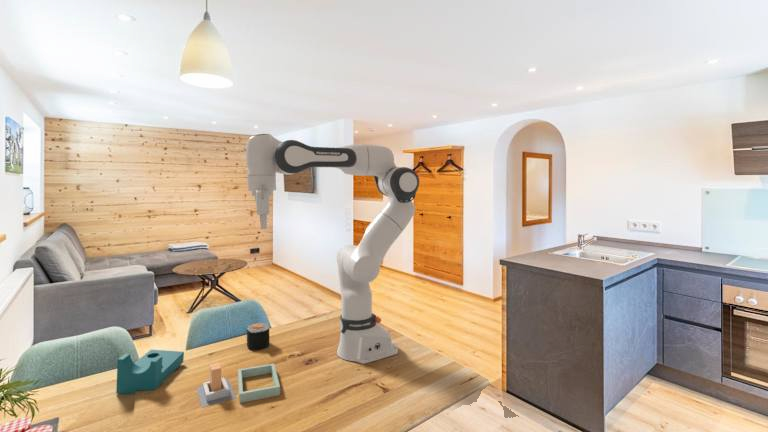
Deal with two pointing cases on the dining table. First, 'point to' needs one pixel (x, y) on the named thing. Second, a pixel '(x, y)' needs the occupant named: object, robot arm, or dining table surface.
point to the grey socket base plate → (215, 393)
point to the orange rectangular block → (215, 377)
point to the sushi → (257, 336)
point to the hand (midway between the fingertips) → (263, 227)
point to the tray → (260, 392)
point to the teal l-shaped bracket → (146, 370)
